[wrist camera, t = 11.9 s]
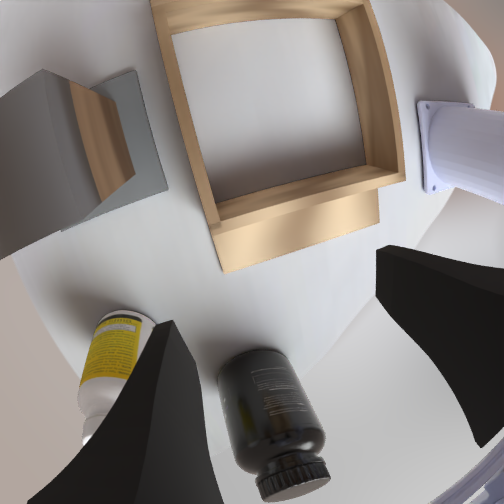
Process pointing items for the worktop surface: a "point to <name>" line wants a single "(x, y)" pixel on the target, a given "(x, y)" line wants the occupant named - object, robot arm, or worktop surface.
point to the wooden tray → (311, 189)
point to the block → (56, 157)
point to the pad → (131, 145)
